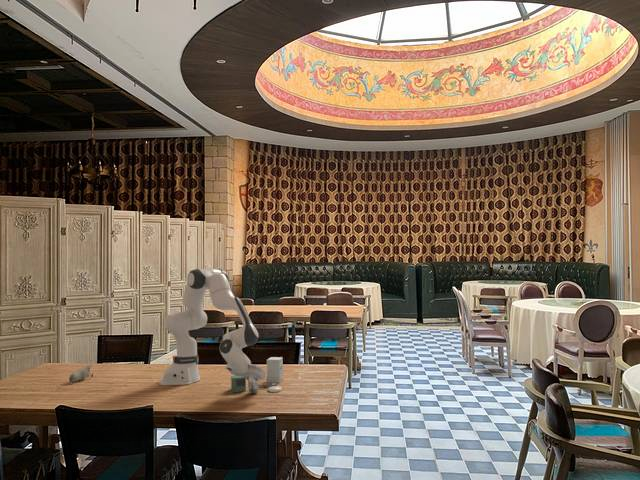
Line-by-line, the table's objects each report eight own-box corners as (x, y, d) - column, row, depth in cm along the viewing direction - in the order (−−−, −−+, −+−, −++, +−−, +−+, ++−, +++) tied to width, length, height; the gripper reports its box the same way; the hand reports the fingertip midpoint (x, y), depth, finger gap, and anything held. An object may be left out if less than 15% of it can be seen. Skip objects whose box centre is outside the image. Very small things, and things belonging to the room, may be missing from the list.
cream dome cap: (269, 392, 257) (269, 390, 257) (267, 389, 264) (267, 386, 264) (282, 391, 259) (282, 389, 259) (280, 388, 265) (280, 385, 265)
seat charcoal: (264, 388, 265) (264, 386, 265) (262, 384, 272) (262, 382, 272) (277, 387, 267) (277, 384, 267) (275, 383, 274) (275, 381, 274)
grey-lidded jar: (248, 393, 254) (248, 371, 254) (247, 390, 259) (247, 368, 259) (259, 392, 255) (258, 370, 255) (258, 389, 260) (257, 368, 260)
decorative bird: (66, 384, 284) (66, 371, 284) (87, 377, 299) (87, 364, 300) (74, 384, 282) (74, 371, 283) (95, 377, 298) (94, 365, 298)
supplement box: (279, 383, 275) (279, 359, 275) (266, 382, 276) (266, 359, 277) (283, 379, 282) (283, 357, 282) (270, 379, 284) (270, 356, 284)
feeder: (232, 392, 259) (231, 378, 259) (231, 389, 266) (230, 375, 266) (245, 391, 261) (245, 377, 261) (244, 387, 267) (244, 374, 267)
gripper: (260, 360, 246) (273, 376, 254) (228, 356, 256) (241, 371, 264) (255, 372, 242) (267, 387, 250) (222, 367, 252) (236, 382, 261)
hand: (254, 379), depth 257 cm, fingers closed on grey-lidded jar, 5 cm apart
